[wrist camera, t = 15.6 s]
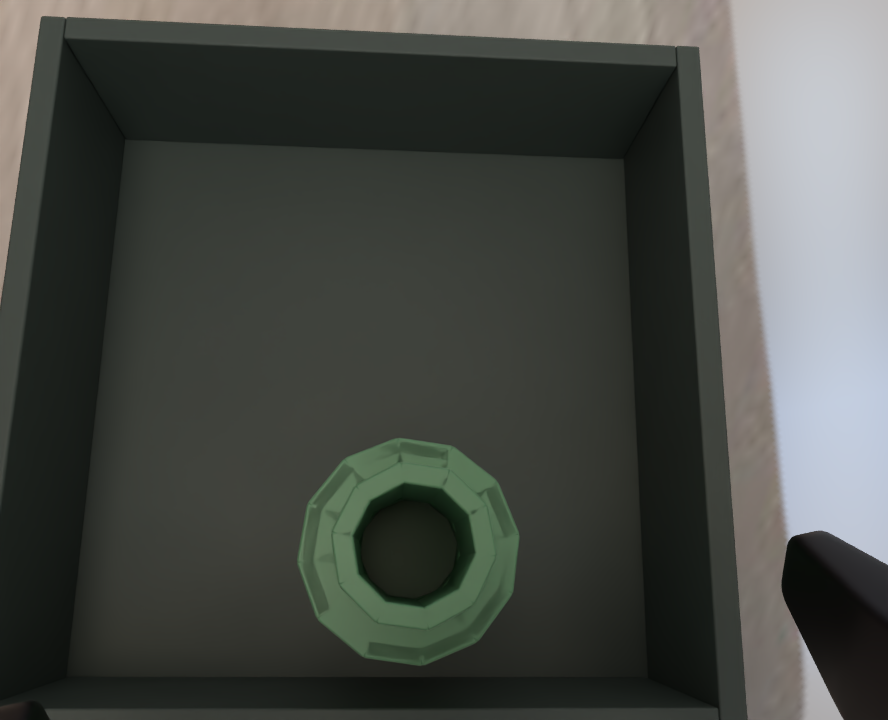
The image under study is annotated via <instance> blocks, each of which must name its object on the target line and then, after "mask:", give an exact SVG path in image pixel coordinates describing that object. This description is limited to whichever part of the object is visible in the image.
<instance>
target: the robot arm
mask: <svg viewBox="0 0 888 720" xmlns="http://www.w3.org/2000/svg"><path fill="white" fill-rule="evenodd" d="M781 585H782V593H783V596H784V600H785V602H786V604H787V606H788V608H789V610H790V613H791V615H792V617H793V619H794V621H795V623H796V625H797V627H798V629H799V631H800V633H801V635H802V637H803V639H804V641H805V643H806V645H807V647H808V649H809V652H810V654H811V656H812V658H813V660H814V662H815V664H816V666H817V668H818V670H819V672H820V674H821V676H822V678H823V680H824V682H825V684H826V686H827V688H828V691H829V693H830V695H831V697H832V699H833V700H834V702H835V704H836V706H837V708H838V710H839V712H840V714H841V716H842V717H843V719H844V720H888V565H887V564H885V563H883V562H881V561H879V560H877V559H876V558H874V557H872V556H870V555H868V554H866V553H865V552H863V551H861V550H859V549H857V548H855V547H854V546H852V545H850V544H848V543H846V542H844V541H843V540H841V539H839V538H837V537H835V536H834V535H832V534H830V533H828V532H824V531H814V532H809V533H805V534H800V535H796V536H793V537H792V538H791V539H790V540H789V542H788V545H787V551H786V557H785V563H784V569H783V575H782V584H781ZM0 720H50V719H49V717H48V715H47V713H46V711H45V709H44V708H43V706H42V705H41V703H40V702H38V701H36V700H27V701H22V702H18V703H13V704H8V705H4V706H1V707H0Z"/></svg>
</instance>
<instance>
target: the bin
mask: <svg viewBox="0 0 888 720" xmlns="http://www.w3.org/2000/svg"><path fill="white" fill-rule="evenodd" d="M395 438H397V439H398V438H404V439H411V440H418V441H424V442H431V443H438V444H444V445H451V446H452V447H455V448H457V449H458V450H459V451H460V452H462V453H463V454H464V455H465V456H467V457H468V458H469V459H470V460H472V461H473V462H474V463H476V464H477V465H478V466H479V467H481V468H482V469H483V470H484V471H486V472H487V473H488V474H489V475H491V476H492V477H493V478H495V479H496V481H497V482H498V483H499V485H500V488H501V490H502V493H503V495H504V497H505V500H506V502H507V505H508V507H509V509H510V512H511V514H512V517H513V519H514V522H515V524H516V526H517V529H518V531H519V536H520V538H519V547H518V555H517V564H516V573H515V581H514V590H513V593H512V596H511V597H510V599H509V600H508V601H507V603H506V604H505V605H504V607H503V608H502V610H501V611H500V612H499V614H498V615H497V616H496V618H495V619H494V621H493V622H492V623H491V625H490V626H489V627H488V629H487V630H486V632H485V633H484V634H483V636H482V637H481V638H480V640H479V641H477V642H476V643H475V644H473V645H470V646H468V647H466V648H463V649H461V650H459V651H456V652H454V653H452V654H449V655H447V656H445V657H443V658H440V659H438V660H436V661H433V662H431V663H429V664H426V665H421V666H418V665H411V664H404V663H397V662H390V661H382V660H375V659H368V658H364V656H363V657H362V656H360V655H359V654H358V653H357V652H356V651H354V650H353V649H352V648H351V647H350V646H348V645H347V644H346V643H345V642H344V641H342V640H341V639H340V638H339V637H337V636H336V635H335V634H334V633H333V632H331V631H330V630H329V629H328V628H327V627H325V626H324V625H323V624H322V623H321V622H319V621H318V618H316V616H315V613H314V610H313V607H312V605H311V602H310V599H309V596H308V593H307V590H306V588H305V585H304V582H303V579H302V576H301V574H300V571H299V568H298V565H297V563H298V562H297V557H298V551H299V546H300V540H301V534H302V529H303V523H304V518H305V512H306V506H307V504H308V502H309V500H310V499H311V498H312V497H313V496H314V494H315V493H316V492H317V491H318V489H319V488H320V487H321V486H322V485H323V483H324V482H325V481H326V480H327V478H328V477H329V476H330V475H331V474H332V472H333V471H334V470H335V469H336V467H337V466H338V465H339V464H340V463H341V461H342V460H343V459H345V458H346V457H348V456H351V455H354V454H356V453H359V452H361V451H364V450H366V449H369V448H372V447H374V446H377V445H379V444H382V443H384V442H387V441H390V440H392V439H395ZM27 700H36V701H38V702H40V703H41V705H42V706H43V708H44V709H45V711H46V713H47V715H48V717H49V719H50V720H748V719H747V705H746V691H745V678H744V664H743V650H742V636H741V622H740V608H739V595H738V581H737V567H736V553H735V539H734V525H733V512H732V498H731V484H730V470H729V456H728V443H727V429H726V415H725V401H724V387H723V373H722V360H721V346H720V332H719V318H718V304H717V290H716V277H715V263H714V249H713V235H712V221H711V208H710V194H709V180H708V166H707V152H706V138H705V125H704V111H703V97H702V83H701V69H700V56H699V47H689V46H677V47H676V48H675V46H664V45H643V44H622V43H601V42H580V41H559V40H538V39H517V38H496V37H475V36H454V35H433V34H412V33H391V32H370V31H349V30H328V29H307V28H286V27H265V26H244V25H223V24H202V23H181V22H160V21H139V20H118V19H96V18H75V17H67V19H66V18H64V17H50V16H42V17H41V21H40V29H39V36H38V43H37V50H36V57H35V64H34V71H33V78H32V85H31V92H30V100H29V107H28V114H27V121H26V128H25V135H24V142H23V149H22V156H21V163H20V171H19V178H18V185H17V192H16V199H15V206H14V213H13V220H12V227H11V234H10V242H9V249H8V256H7V263H6V270H5V277H4V284H3V291H2V298H1V305H0V707H1V706H4V705H8V704H13V703H18V702H22V701H27Z"/></svg>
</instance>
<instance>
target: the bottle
mask: <svg viewBox="0 0 888 720" xmlns="http://www.w3.org/2000/svg"><path fill="white" fill-rule="evenodd" d="M519 538H520V536H519V531H518V529H517V526H516V524H515V522H514V519H513V517H512V514H511V512H510V509H509V507H508V505H507V502H506V500H505V497H504V495H503V493H502V490H501V488H500V485H499V483H498V482H497V481H496V479H495V478H493V477H492V476H491V475H489V474H488V473H487V472H486V471H484V470H483V469H482V468H481V467H479V466H478V465H477V464H476V463H474V462H473V461H472V460H470V459H469V458H468V457H467V456H465V455H464V454H463V453H462V452H460V451H459V450H458V449H457V448H455V447H452V446H451V445H444V444H438V443H431V442H424V441H418V440H411V439H404V438H398V439H397V438H395V439H392V440H390V441H387V442H384V443H382V444H379V445H377V446H374V447H372V448H369V449H366V450H364V451H361V452H359V453H356V454H354V455H351V456H348V457H346V458H345V459H343V460H342V461H341V463H340V464H339V465H338V466H337V467H336V469H335V470H334V471H333V472H332V474H331V475H330V476H329V477H328V478H327V480H326V481H325V482H324V483H323V485H322V486H321V487H320V488H319V489H318V491H317V492H316V493H315V494H314V496H313V497H312V498H311V499H310V500H309V502H308V504H307V506H306V512H305V518H304V523H303V529H302V534H301V540H300V546H299V551H298V557H297V562H298V563H297V565H298V568H299V571H300V574H301V576H302V579H303V582H304V585H305V588H306V590H307V593H308V596H309V599H310V602H311V605H312V607H313V610H314V613H315V616H316V618H318V621H319V622H321V623H322V624H323V625H324V626H325V627H327V628H328V629H329V630H330V631H331V632H333V633H334V634H335V635H336V636H337V637H339V638H340V639H341V640H342V641H344V642H345V643H346V644H347V645H348V646H350V647H351V648H352V649H353V650H354V651H356V652H357V653H358V654H359V655H360V656H362V657H363V656H364V658H368V659H375V660H382V661H390V662H397V663H404V664H411V665H418V666H421V665H426V664H429V663H431V662H433V661H436V660H438V659H440V658H443V657H445V656H447V655H449V654H452V653H454V652H456V651H459V650H461V649H463V648H466V647H468V646H470V645H473V644H475V643H476V642H477V641H479V640H480V638H481V637H482V636H483V634H484V633H485V632H486V630H487V629H488V627H489V626H490V625H491V623H492V622H493V621H494V619H495V618H496V616H497V615H498V614H499V612H500V611H501V610H502V608H503V607H504V605H505V604H506V603H507V601H508V600H509V599H510V597H511V596H512V593H513V590H514V581H515V573H516V564H517V555H518V547H519Z"/></svg>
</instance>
